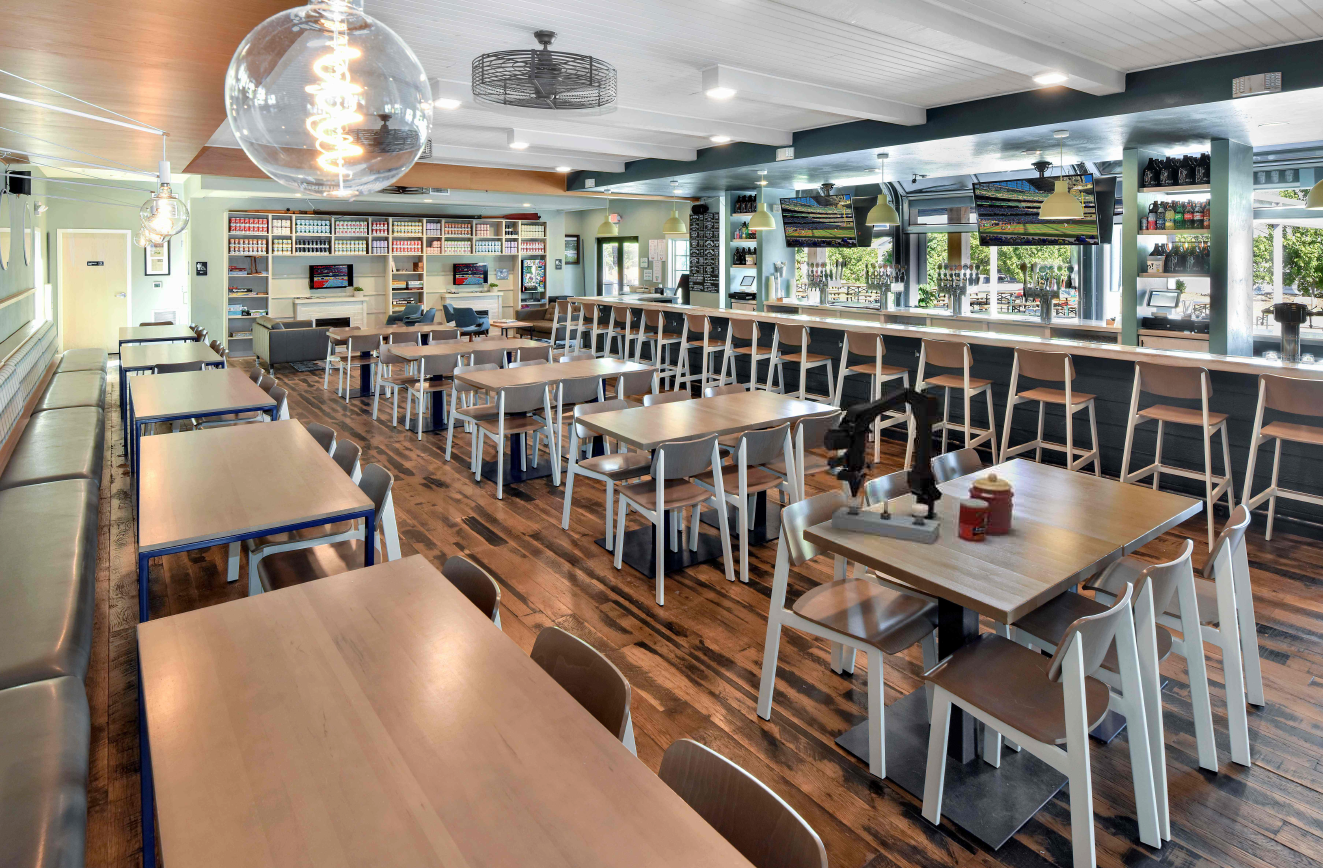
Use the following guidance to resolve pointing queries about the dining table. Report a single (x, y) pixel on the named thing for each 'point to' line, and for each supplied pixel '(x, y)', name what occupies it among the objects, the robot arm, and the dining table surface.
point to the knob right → (919, 512)
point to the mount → (886, 525)
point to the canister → (995, 502)
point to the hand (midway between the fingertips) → (854, 497)
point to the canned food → (973, 519)
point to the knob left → (853, 503)
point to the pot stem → (885, 512)
